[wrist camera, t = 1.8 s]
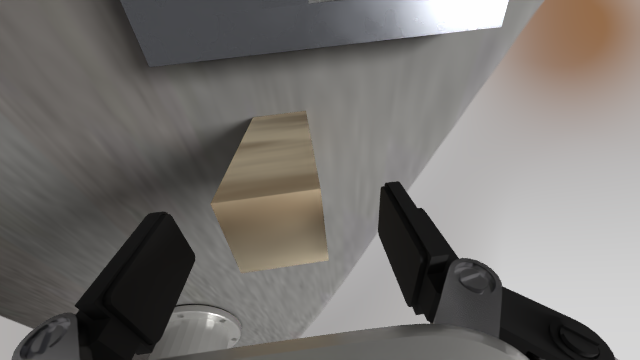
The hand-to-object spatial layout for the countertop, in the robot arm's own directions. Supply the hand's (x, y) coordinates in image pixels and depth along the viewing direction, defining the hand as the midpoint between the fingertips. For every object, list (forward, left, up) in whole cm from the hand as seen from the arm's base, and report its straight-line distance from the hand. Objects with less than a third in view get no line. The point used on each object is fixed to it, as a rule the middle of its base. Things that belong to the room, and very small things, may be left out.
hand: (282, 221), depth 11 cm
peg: (-1, 0, -12) cm, 12 cm away
